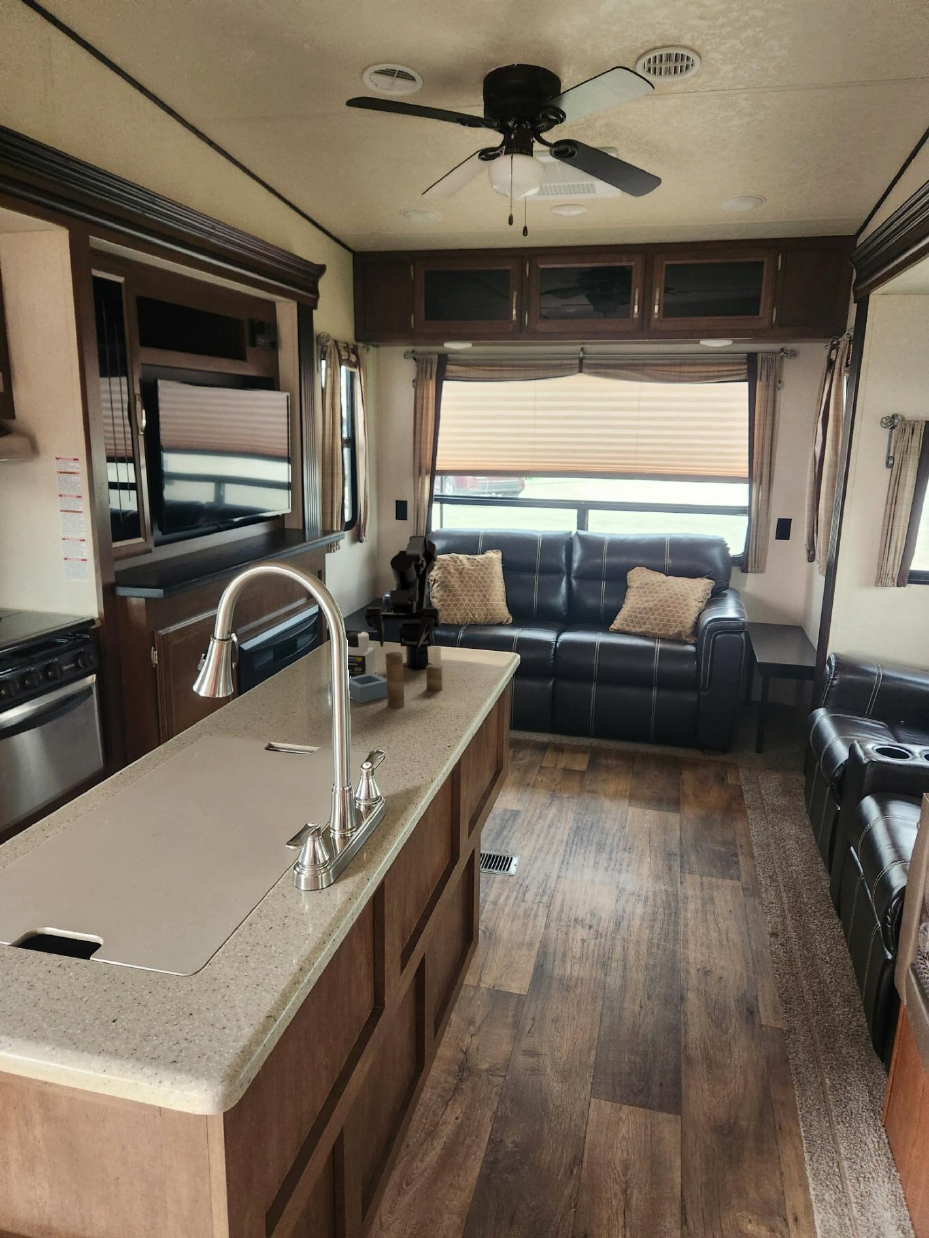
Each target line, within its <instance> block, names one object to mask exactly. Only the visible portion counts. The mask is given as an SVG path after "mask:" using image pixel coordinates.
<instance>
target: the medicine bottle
mask: <svg viewBox="0 0 929 1238" xmlns="http://www.w3.org/2000/svg"><path fill="white" fill-rule="evenodd" d="M346 636H347V640H348V670H349V678H350V676H351V677H355V676H360V675H364V674H369V673H374V674H376V673H377V660H376V658H377V657H376V648H375V647H370V639H369V638H370V636H369V633H368V632H366V631H360V630H359V631H357V630H356V631H351V632H349V633H347V634H346ZM375 672H376V673H375Z"/></svg>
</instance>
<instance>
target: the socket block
mask: <svg viewBox="0 0 929 1238" xmlns="http://www.w3.org/2000/svg"><path fill="white" fill-rule="evenodd" d="M349 691H350V698H349V699H351V697H352V698H353V699H352V700H353V701H354V702H357V701H358V702H357V703H359V704H362V702H364V703H366V702H365V701H368V702H371V700H372V701H375V700H374V699H376V700H379V698H380V699H383V698H382V697H384V698H388V697H387V678H385V677H384V676H380V675H378V674H376V673H369V674H364V675H360V676H355V677H351V678H349Z"/></svg>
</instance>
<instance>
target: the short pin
mask: <svg viewBox="0 0 929 1238" xmlns="http://www.w3.org/2000/svg"><path fill="white" fill-rule="evenodd" d="M442 667H443V666H442V665H440V664H433V665H428V666H426V667H425V671H426V673H425V675H426V676H425V677H426V680H425V681H426V691H428V692H433V691H434V692H441V691H442V690H443V673H442V672H443V671H442V669H443V668H442Z"/></svg>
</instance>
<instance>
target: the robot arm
mask: <svg viewBox="0 0 929 1238" xmlns="http://www.w3.org/2000/svg"><path fill="white" fill-rule="evenodd" d="M408 540H409V542H408V543H407V544H406V548H405V550H404V549H403V550H399V551H398V553H396V554H395V555H394V556H393V557H392V558H391V560H390V562H389V563H390V568H391V571H392V575H393V580H394V581H395V582H396V583H395V589H391V590H389V604H390V610H391V611H392V612H383V609H382V607H367V608H366V609H365V611H364V618H365V620H366V623H367V626H368V627H370V628H372V629H373V630H374V631H376V632H377V635H378V640H379V646H380V648H384V641H385V621H386V622H388V621H389V622H391V621H392V622H394V621H395V622H397V621H399V622H401V624H400V625H399V642H400V647H405V650H406V651H405V652H406V653H405V654H406V655H405V656H406V662H403V667H406V668H408V669H411V670H413V671H417V670H420V669H424V668H425V669H426V666H428V665H434V664H433V663H431V662H429V649H428V648H431V646H435V640H434V639H435V638H434V637H435V636H434V632H433V631H435V630H436V629H439V628H440V627H441V624H442V623H441V622H442V621H441V620H442V618H441V613H440V610H439V608H438V607H426V602H427V593H428V591H427V590H428V582H429V575H430V574H431V573H432V572H433V571H434V570H435V567H436V565H435V563H437V562H438V549H437V546H436V544H435V543H434V542H433V541H431V540H429V537H428V536H427V535H423V534H421V535H420V534H419V535H418V534H417V535H411V536H409V539H408Z"/></svg>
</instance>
